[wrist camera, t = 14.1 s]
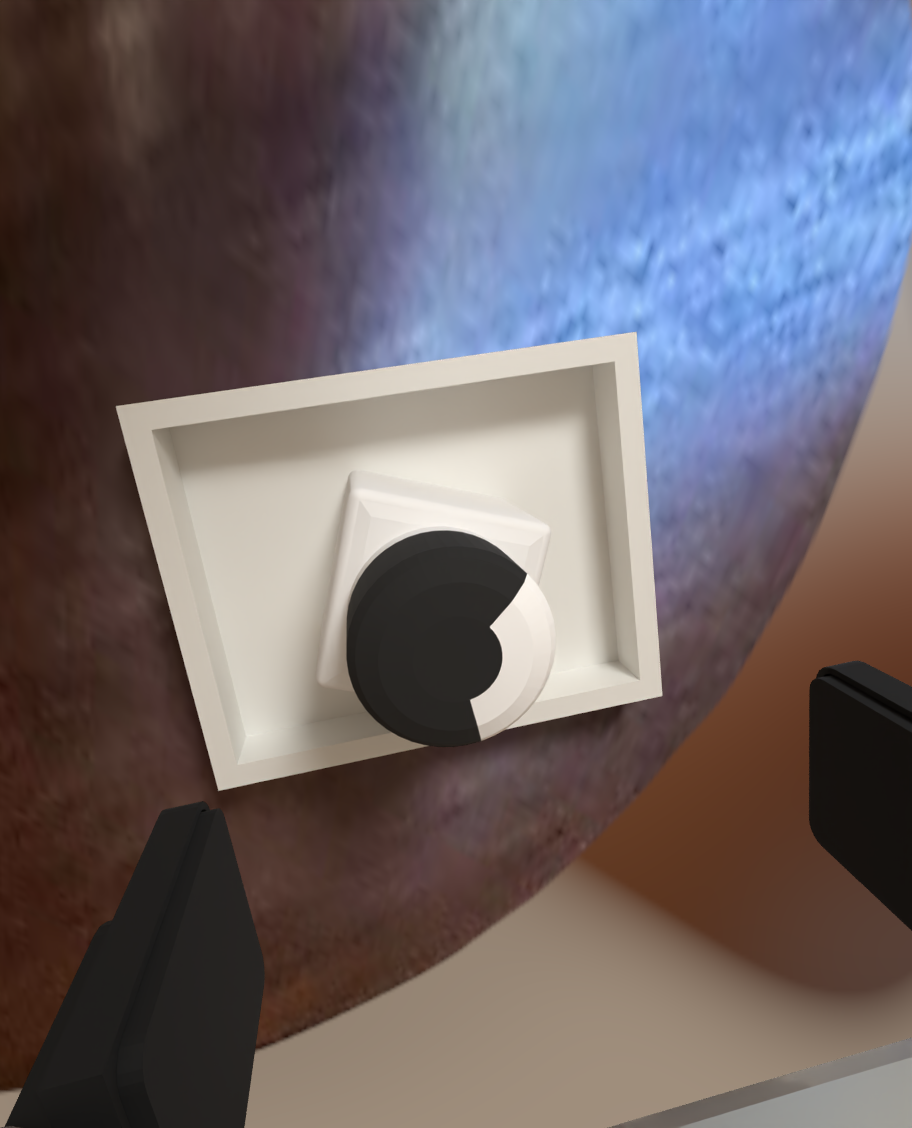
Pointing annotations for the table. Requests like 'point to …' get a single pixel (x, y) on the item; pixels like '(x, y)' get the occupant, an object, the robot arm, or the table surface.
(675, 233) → the table surface
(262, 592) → the tray
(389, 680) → the medicine bottle
